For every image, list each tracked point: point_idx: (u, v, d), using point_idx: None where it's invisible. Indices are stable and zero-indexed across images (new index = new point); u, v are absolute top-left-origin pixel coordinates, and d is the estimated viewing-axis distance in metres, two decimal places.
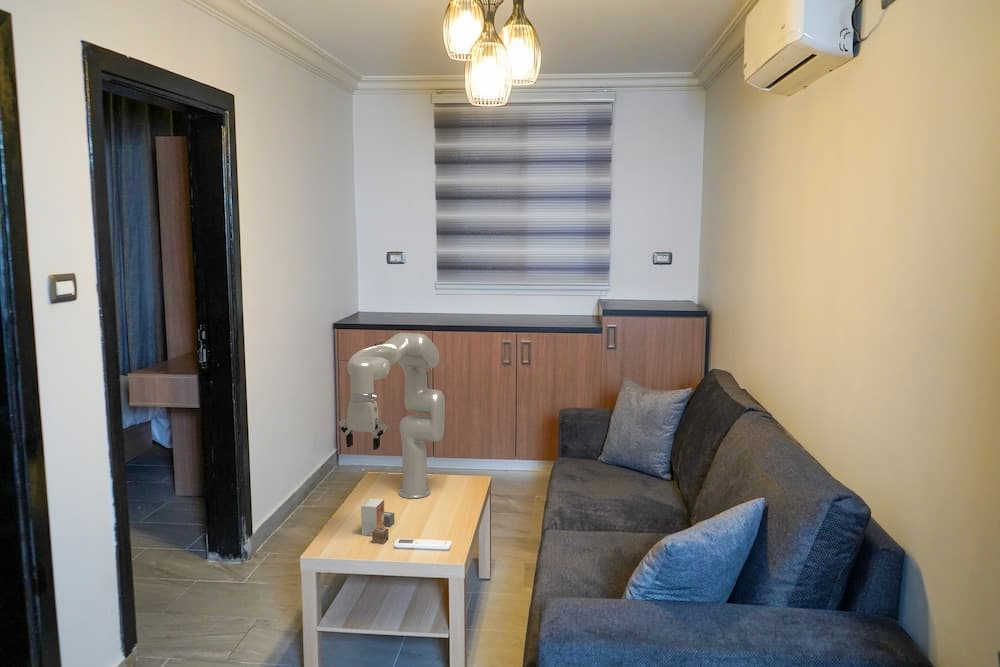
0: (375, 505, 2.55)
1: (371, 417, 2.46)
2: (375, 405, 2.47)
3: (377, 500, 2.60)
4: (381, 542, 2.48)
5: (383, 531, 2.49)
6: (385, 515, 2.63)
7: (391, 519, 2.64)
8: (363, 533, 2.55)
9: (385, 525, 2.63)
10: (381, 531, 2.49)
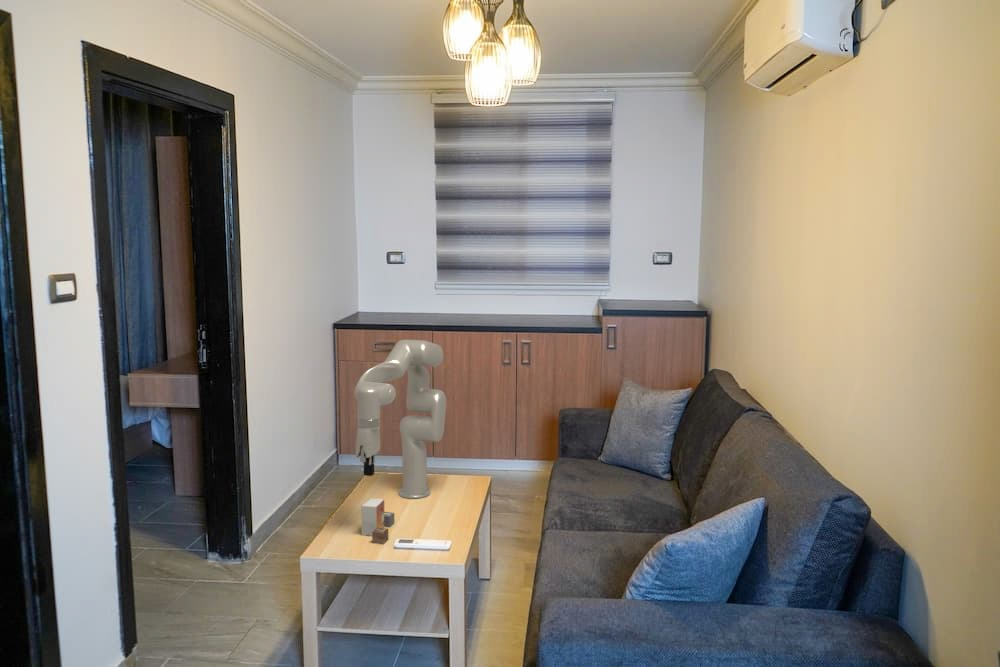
0: (375, 505, 2.55)
1: (379, 437, 2.59)
2: None
3: (377, 500, 2.60)
4: (381, 542, 2.48)
5: (383, 531, 2.49)
6: (385, 515, 2.63)
7: (391, 519, 2.64)
8: (363, 533, 2.55)
9: (385, 525, 2.63)
10: (381, 531, 2.49)
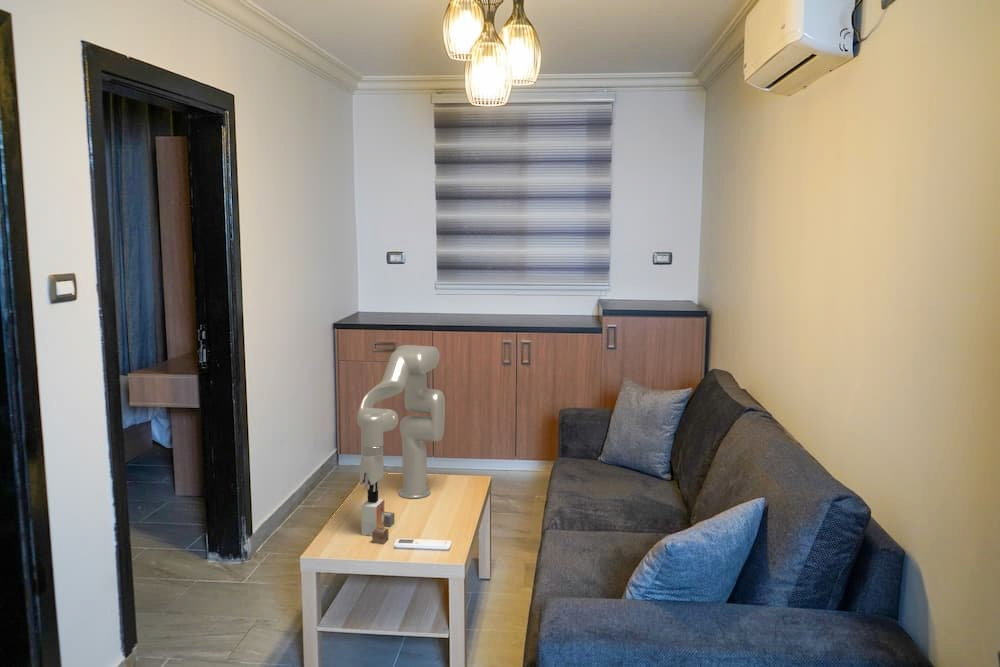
0: (375, 505, 2.55)
1: (383, 463, 2.59)
2: None
3: None
4: (381, 542, 2.48)
5: (383, 531, 2.49)
6: (385, 515, 2.63)
7: (391, 519, 2.64)
8: (363, 533, 2.55)
9: (385, 525, 2.63)
10: (381, 531, 2.49)
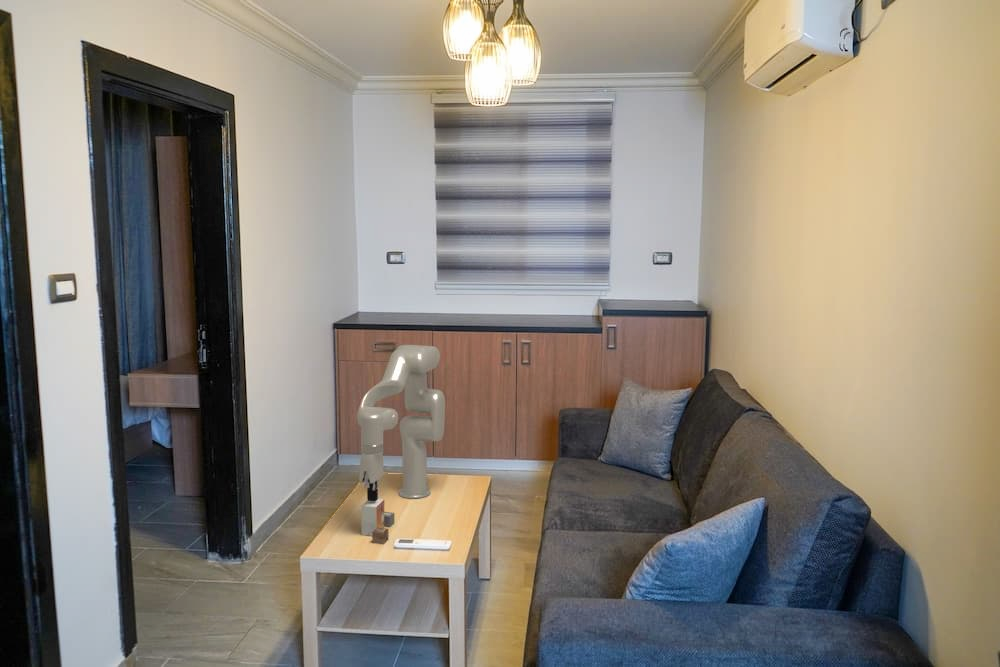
0: (375, 505, 2.55)
1: (382, 462, 2.59)
2: None
3: (377, 500, 2.60)
4: (381, 542, 2.48)
5: (383, 531, 2.49)
6: (385, 515, 2.63)
7: (391, 519, 2.64)
8: (363, 533, 2.55)
9: (385, 525, 2.63)
10: (381, 531, 2.49)
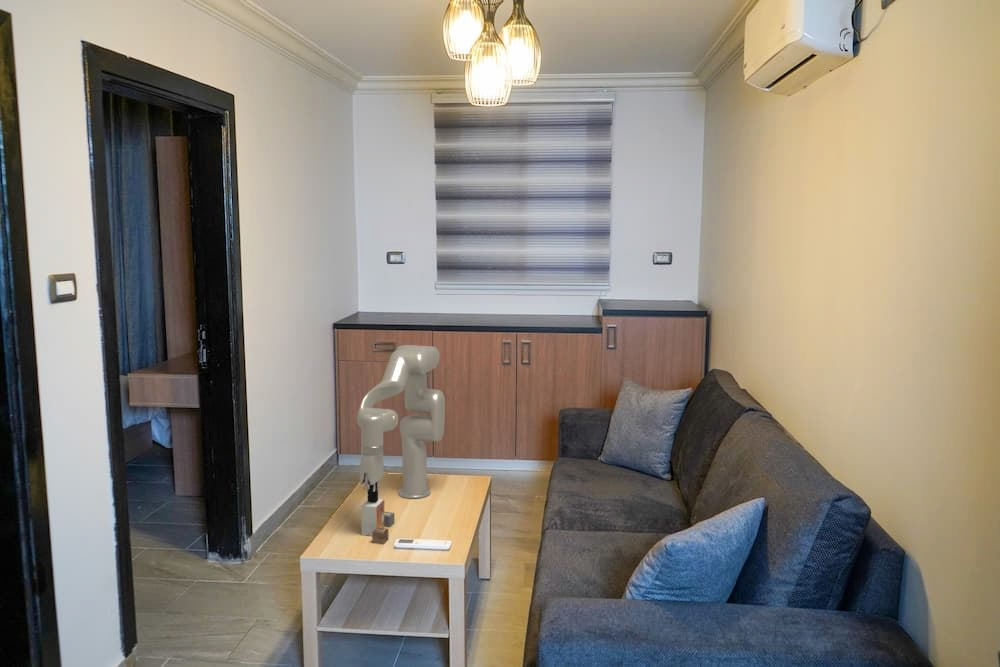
0: (375, 505, 2.55)
1: (383, 464, 2.59)
2: None
3: None
4: (381, 542, 2.48)
5: (383, 531, 2.49)
6: (385, 515, 2.63)
7: (391, 519, 2.64)
8: (363, 533, 2.55)
9: (385, 525, 2.63)
10: (381, 531, 2.49)
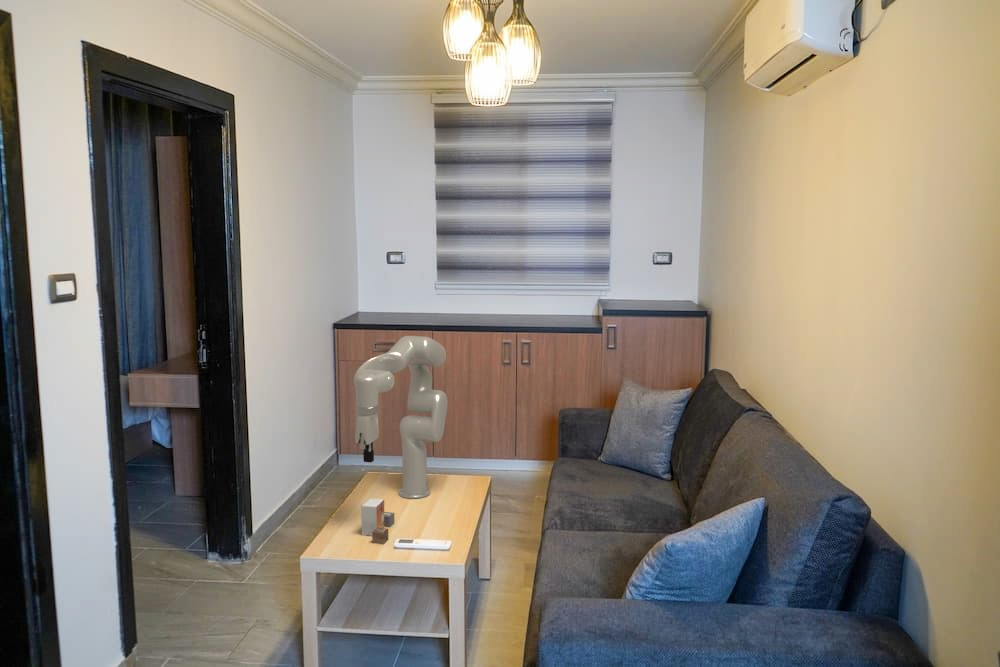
0: (375, 505, 2.55)
1: (378, 424, 2.62)
2: None
3: (377, 500, 2.60)
4: (381, 542, 2.48)
5: (383, 531, 2.49)
6: (385, 515, 2.63)
7: (391, 519, 2.64)
8: (363, 533, 2.55)
9: (385, 525, 2.63)
10: (381, 531, 2.49)
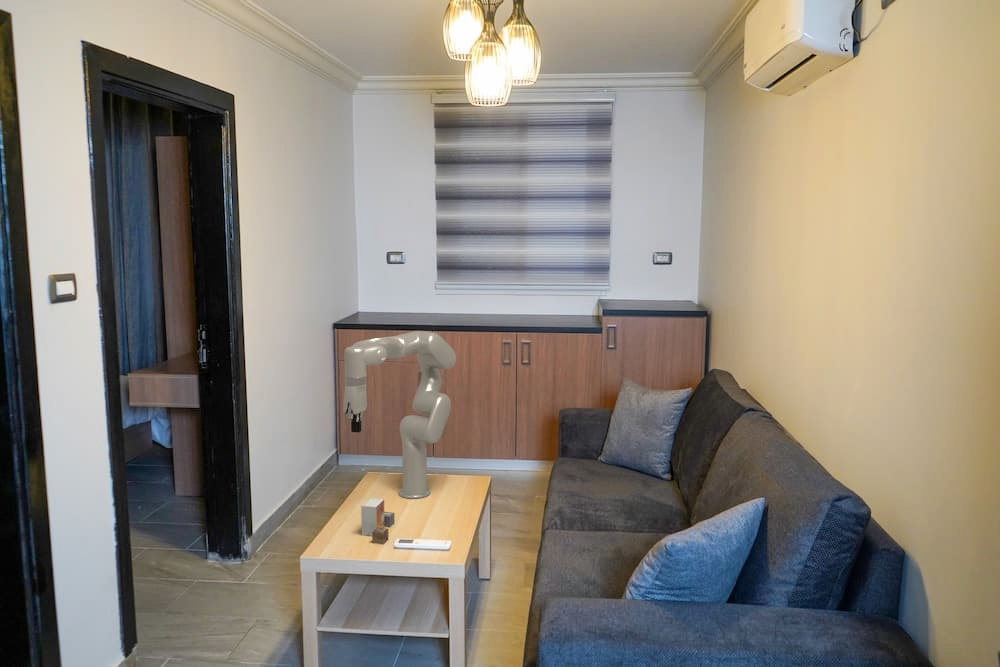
0: (375, 505, 2.55)
1: (366, 395, 2.69)
2: None
3: (377, 500, 2.60)
4: (381, 542, 2.48)
5: (383, 531, 2.49)
6: (385, 515, 2.63)
7: (391, 519, 2.64)
8: (363, 533, 2.55)
9: (385, 525, 2.63)
10: (381, 531, 2.49)
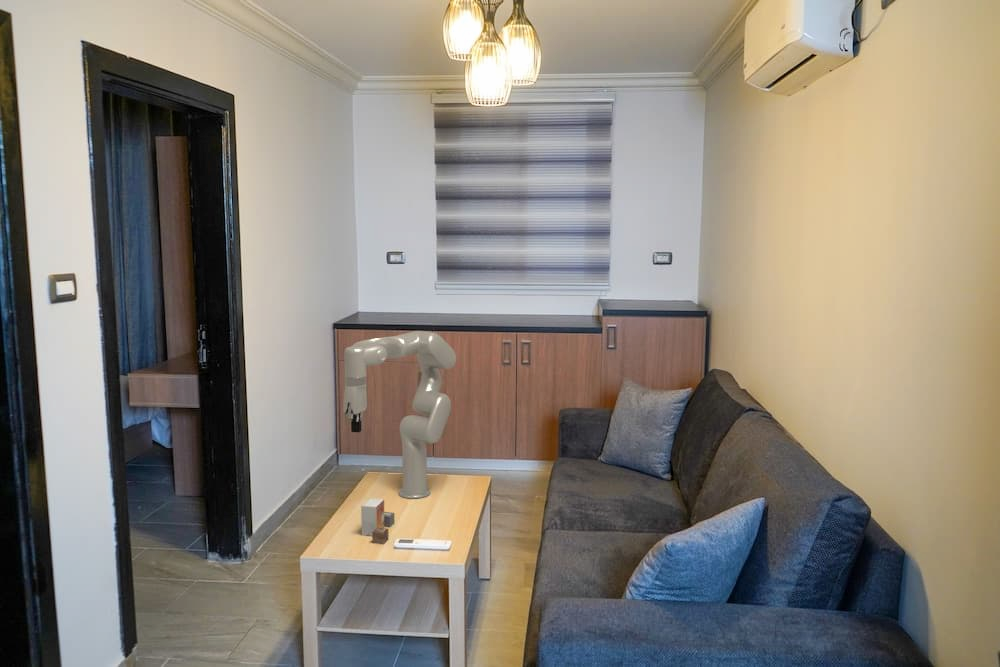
0: (375, 505, 2.55)
1: (366, 395, 2.69)
2: None
3: (377, 500, 2.60)
4: (381, 542, 2.48)
5: (383, 531, 2.49)
6: (385, 515, 2.63)
7: (391, 519, 2.64)
8: (363, 533, 2.55)
9: (385, 525, 2.63)
10: (381, 531, 2.49)
